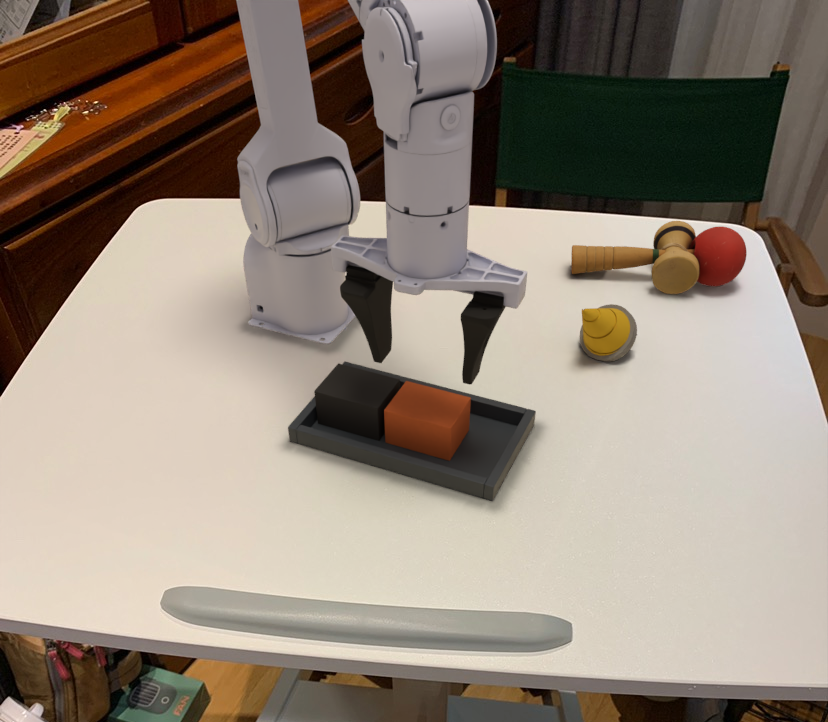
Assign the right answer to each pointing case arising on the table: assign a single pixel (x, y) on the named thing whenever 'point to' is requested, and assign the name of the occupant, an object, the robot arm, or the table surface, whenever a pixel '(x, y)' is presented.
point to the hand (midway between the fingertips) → (426, 366)
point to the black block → (355, 400)
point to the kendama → (673, 257)
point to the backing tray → (466, 471)
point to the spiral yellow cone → (607, 332)
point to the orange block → (427, 420)
